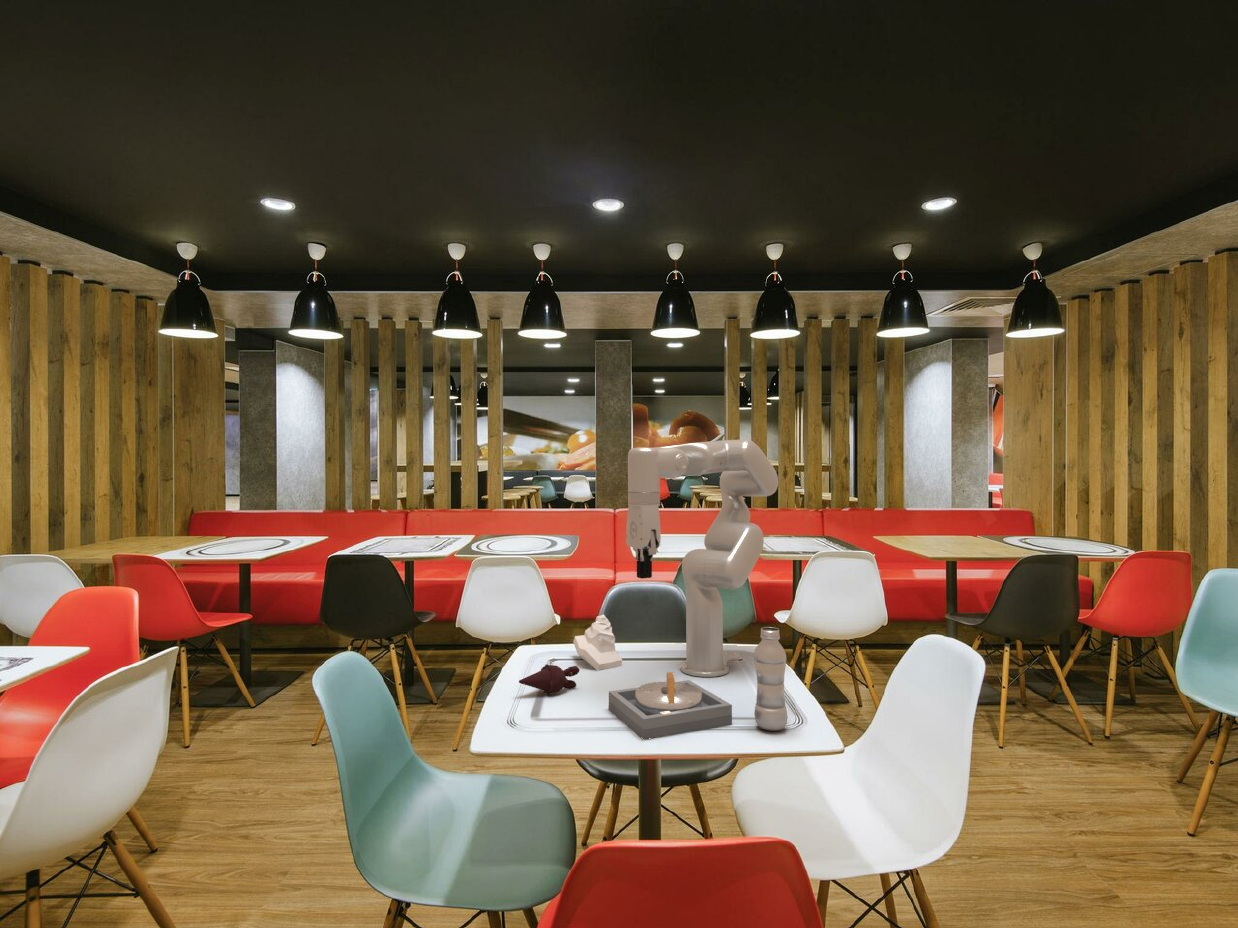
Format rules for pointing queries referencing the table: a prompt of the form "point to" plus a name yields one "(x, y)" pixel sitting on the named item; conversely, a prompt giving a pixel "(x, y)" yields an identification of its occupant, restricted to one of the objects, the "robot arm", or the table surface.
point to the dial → (667, 696)
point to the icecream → (551, 679)
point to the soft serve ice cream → (598, 645)
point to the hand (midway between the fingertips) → (644, 577)
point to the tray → (670, 714)
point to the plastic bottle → (770, 681)
